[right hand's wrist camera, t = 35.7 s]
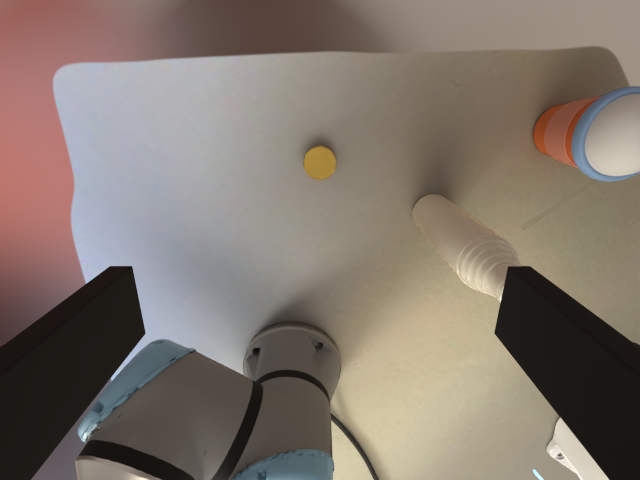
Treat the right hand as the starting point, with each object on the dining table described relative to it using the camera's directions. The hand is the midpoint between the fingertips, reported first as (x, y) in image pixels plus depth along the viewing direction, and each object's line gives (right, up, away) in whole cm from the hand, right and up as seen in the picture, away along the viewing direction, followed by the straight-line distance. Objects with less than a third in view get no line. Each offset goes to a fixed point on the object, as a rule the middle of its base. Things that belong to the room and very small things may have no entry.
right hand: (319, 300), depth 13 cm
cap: (0, +12, +32) cm, 34 cm away
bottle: (+15, +6, +36) cm, 40 cm away
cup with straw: (+30, +16, +32) cm, 47 cm away
